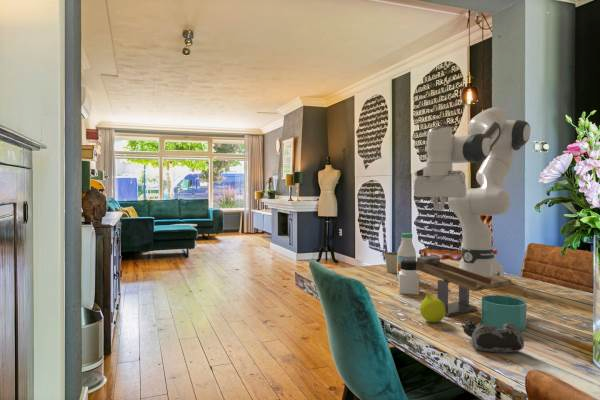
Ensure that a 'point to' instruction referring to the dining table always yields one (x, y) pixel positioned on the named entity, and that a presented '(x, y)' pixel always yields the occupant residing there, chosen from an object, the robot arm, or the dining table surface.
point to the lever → (458, 274)
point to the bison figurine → (494, 337)
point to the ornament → (432, 308)
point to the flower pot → (391, 261)
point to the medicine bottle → (408, 278)
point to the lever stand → (456, 306)
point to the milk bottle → (405, 251)
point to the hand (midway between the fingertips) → (438, 210)
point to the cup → (503, 311)
